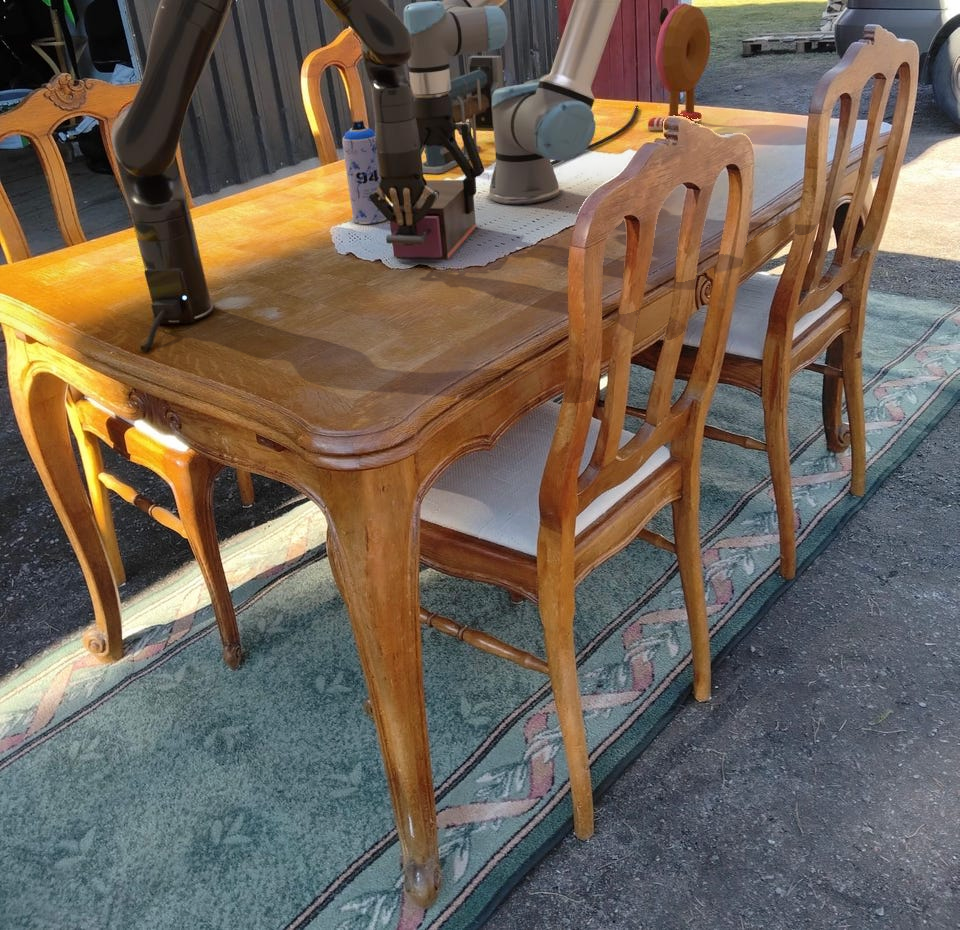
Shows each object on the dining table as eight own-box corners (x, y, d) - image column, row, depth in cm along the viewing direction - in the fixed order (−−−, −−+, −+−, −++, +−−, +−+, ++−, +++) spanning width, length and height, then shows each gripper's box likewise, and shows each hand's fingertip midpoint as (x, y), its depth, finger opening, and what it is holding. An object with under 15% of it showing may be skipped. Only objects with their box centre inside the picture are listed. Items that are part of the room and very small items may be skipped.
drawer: (430, 268, 173) (426, 227, 170) (383, 267, 176) (377, 227, 172) (467, 227, 193) (464, 190, 189) (424, 227, 195) (420, 190, 191)
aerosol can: (355, 226, 202) (341, 127, 192) (349, 216, 209) (336, 120, 199) (392, 220, 204) (380, 122, 194) (385, 211, 210) (373, 115, 200)
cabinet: (448, 258, 180) (443, 208, 175) (395, 257, 183) (389, 208, 178) (476, 227, 196) (472, 180, 191) (427, 226, 199) (422, 180, 194)
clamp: (440, 173, 235) (432, 80, 224) (410, 172, 239) (400, 80, 228) (506, 140, 261) (501, 55, 250) (478, 139, 264) (472, 55, 254)
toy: (679, 116, 271) (683, -2, 256) (712, 118, 265) (718, -3, 250) (639, 132, 257) (640, 8, 242) (673, 135, 251) (676, 8, 236)
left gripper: (441, 140, 168) (450, 237, 176) (370, 141, 171) (382, 237, 180) (427, 150, 161) (438, 251, 170) (354, 151, 165) (368, 250, 174)
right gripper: (495, 88, 180) (503, 206, 191) (381, 91, 186) (394, 206, 197) (485, 96, 174) (493, 217, 185) (366, 99, 180) (381, 216, 191)
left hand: (409, 243), depth 175 cm, fingers closed
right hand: (442, 211), depth 191 cm, fingers closed on cabinet, 10 cm apart
